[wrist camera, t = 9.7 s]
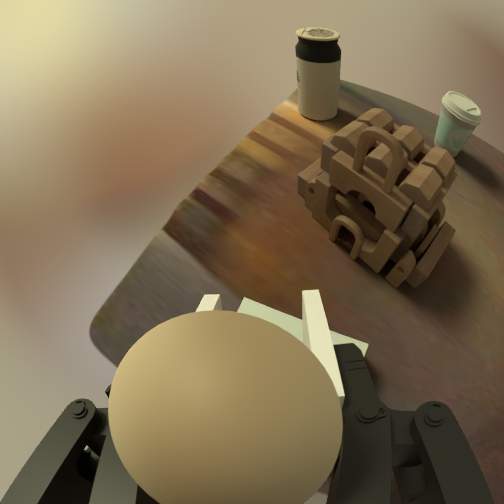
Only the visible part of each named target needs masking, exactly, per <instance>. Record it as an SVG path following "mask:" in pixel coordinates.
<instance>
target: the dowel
mask: <svg viewBox="0 0 504 504" xmlns="http://www.w3.org/2000/svg"><path fill="white" fill-rule="evenodd" d="M108 416H109V426H110V431H111V436H112V439H113V443H114V446H115V448H116V451H117V453H118V455H119V457H120V459H121V461H122V463H123V465H124V466H125V468H126V470H127V471H128V473H129V474H130V475H131V477H132V478H133V479H134V480H135V481H136V483H137V484H138V485H139V486H140V487H141V488H142V489H143V490H144V491H145V492H146V493H147V494H148V495H150V496H151V497H152V498H153V499H155V500H156V501H157V502H159V503H160V504H303V503H304V502H305V501H307V500H308V499H309V498H310V497H311V496H312V495H314V494H315V492H316V491H317V490H318V489H319V488H320V487H321V486H322V484H323V483H324V482H325V480H326V479H327V477H328V476H329V474H330V472H331V471H332V469H333V467H334V464H335V462H336V460H337V457H338V454H339V450H340V446H341V442H342V431H343V421H342V410H341V406H340V401H339V397H338V394H337V392H336V389H335V386H334V384H333V381H332V380H331V378H330V376H329V374H328V373H327V371H326V369H325V367H324V366H323V365H322V364H321V362H320V361H319V360H318V358H317V357H316V356H315V355H314V354H313V353H312V352H311V351H310V350H309V349H308V348H307V347H306V346H305V345H304V344H303V343H302V342H301V341H300V340H298V339H297V338H296V337H294V336H293V335H292V334H291V333H289V332H287V331H286V330H284V329H282V328H280V327H279V326H277V325H275V324H273V323H271V322H268V321H266V320H264V319H261V318H258V317H255V316H251V315H248V314H244V313H238V312H233V311H219V310H211V311H199V312H194V313H189V314H184V315H181V316H178V317H175V318H172V319H170V320H168V321H166V322H164V323H162V324H159V325H158V326H156V327H155V328H153V329H152V330H150V331H149V332H147V333H146V334H145V335H144V336H142V337H141V338H140V339H139V340H138V341H137V342H136V343H135V344H134V345H133V346H132V347H131V349H130V350H129V351H128V352H127V354H126V355H125V357H124V358H123V360H122V361H121V363H120V365H119V367H118V369H117V371H116V373H115V376H114V379H113V382H112V385H111V390H110V395H109V405H108Z"/></svg>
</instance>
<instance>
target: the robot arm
mask: <svg viewBox="0 0 504 504" xmlns="http://www.w3.org/2000/svg"><path fill="white" fill-rule="evenodd" d="M302 306H303V344H304V345H305V346H306V347H307V348H308V349H309V350H310V351H311V352H312V353H313V354H314V355H315V356H316V357H317V358H318V360H319V361H320V362H321V364H322V365H323V366H324V367H325V369H326V371H327V373H328V374H329V376H330V378H331V380H332V381H333V384H334V386H335V389H336V392H337V394H338V397H339V401H340V406H341V410H342V421H343V431H342V442H341V446H340V450H339V454H338V457H337V460H336V462H335V464H334V467H333V469H332V475H331V481H330V487H329V492H328V497H327V502H326V504H390V499H391V471H392V468H393V471H394V475H395V478H396V482H397V486H398V489H399V493H400V497H401V501H402V504H494V501H493V498H492V496H491V493H490V490H489V488H488V485H487V483H486V481H485V478H484V476H483V473H482V471H481V469H480V467H479V464H478V462H477V460H476V458H475V456H474V454H473V452H472V449H471V447H470V445H469V443H468V441H467V439H466V437H465V435H464V433H463V431H462V430H461V428H460V426H459V424H458V422H457V420H456V418H455V416H454V415H453V413H452V411H451V410H450V408H449V407H448V406H447V405H445V404H443V403H441V402H437V401H431V402H426V403H424V404H422V405H420V407H419V408H418V409H417V410H416V412H415V411H397V410H393V409H390V408H388V407H387V406H386V405H385V404H384V403H383V402H381V401H380V400H379V398H378V396H377V394H376V391H375V388H374V385H373V382H372V379H371V376H370V373H369V370H368V369H367V364H366V362H365V359H364V356H363V353H362V351H361V349H360V348H359V347H357V346H356V345H355V344H354V343H345V344H335V345H333V343H332V339H331V335H330V331H329V327H328V324H327V320H326V316H325V312H324V309H323V305H322V301H321V298H320V294H319V291H318V290H305V291H302ZM211 310H219V311H222V306H221V300H220V294H216V295H204V297H203V299H202V301H201V303H200V305H199V306H198V308H197V310H196V312H199V311H211ZM111 385H112V384H111ZM111 385H110V386H109V387H108V388H107V389H106V391H105V393H106V394H107V396H108V398H109V395H110V390H111ZM86 445H87V446H88V447H89V448H88V449H87V450H84V448H85V447H86ZM0 504H160V503H159V502H157V501H156V500H155V499H153V498H152V497H151V496H150V495H148V494H147V493H146V492H145V491H144V490H143V489H142V488H141V487H140V486H139V485H138V484H137V483H136V481H135V480H134V479H133V478H132V477H131V475H130V474H129V473H128V471H127V470H126V468H125V466H124V465H123V463H122V461H121V459H120V457H119V455H118V453H117V451H116V448H115V446H114V443H113V439H112V436H111V431H110V426H109V416H108V408H96V407H95V405H94V404H93V403H92V401H90V400H88V399H77V400H75V401H73V402H71V403H70V404H69V405H68V406H67V407H66V409H65V410H64V411H63V412H62V414H61V415H60V416H59V418H58V419H57V420H56V422H55V423H54V425H53V426H52V427H51V428H50V430H49V431H48V433H47V434H46V435H45V437H44V438H43V439H42V441H41V442H40V444H39V445H38V446H37V448H36V449H35V451H34V452H33V453H32V455H31V456H30V458H29V459H28V461H27V462H26V464H25V465H24V467H23V468H22V469H21V471H20V472H19V474H18V475H17V477H16V478H15V480H14V481H13V483H12V484H11V486H10V487H9V489H8V491H7V492H6V494H5V495H4V497H3V499H2V500H1V502H0Z"/></svg>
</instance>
